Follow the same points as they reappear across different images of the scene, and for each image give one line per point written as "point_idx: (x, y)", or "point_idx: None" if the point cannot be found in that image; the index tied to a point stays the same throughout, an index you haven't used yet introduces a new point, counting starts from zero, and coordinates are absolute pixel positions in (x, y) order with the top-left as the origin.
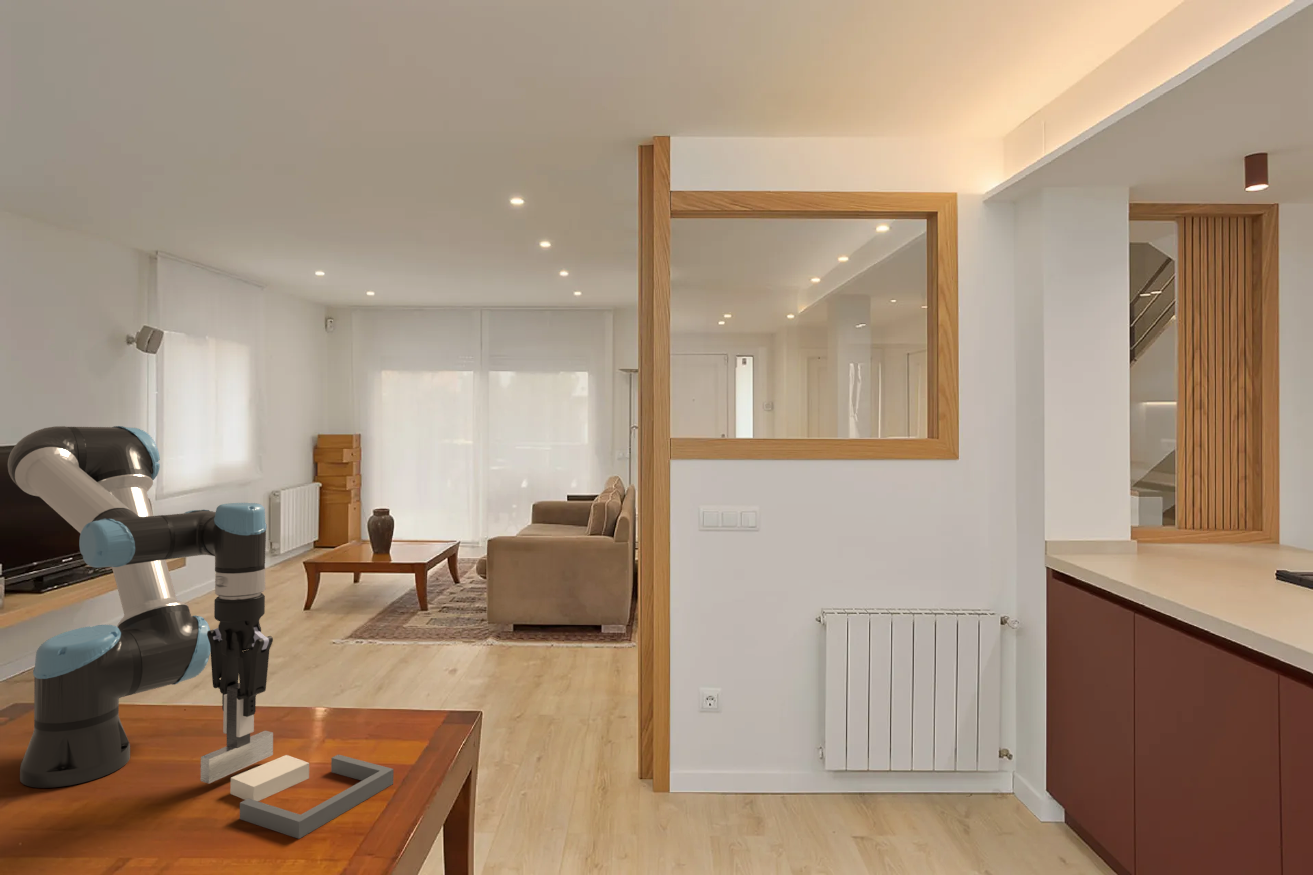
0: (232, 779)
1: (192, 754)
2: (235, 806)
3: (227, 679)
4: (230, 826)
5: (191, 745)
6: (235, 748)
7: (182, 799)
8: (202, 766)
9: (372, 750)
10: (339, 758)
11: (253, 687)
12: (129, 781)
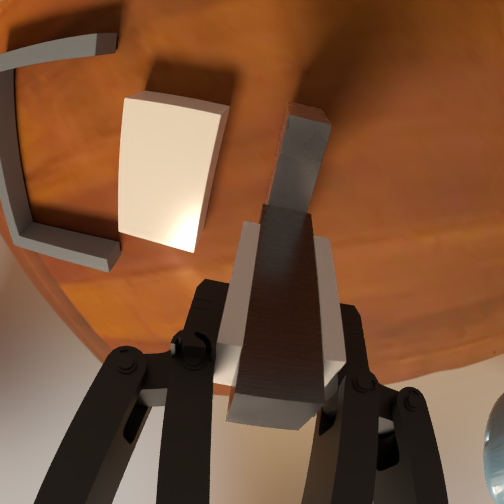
0: (213, 112)
1: (443, 253)
2: (173, 68)
3: (334, 442)
4: (118, 10)
5: (458, 280)
6: (268, 203)
7: (328, 59)
8: (320, 116)
9: (135, 313)
10: (93, 259)
11: (94, 384)
12: (494, 133)
